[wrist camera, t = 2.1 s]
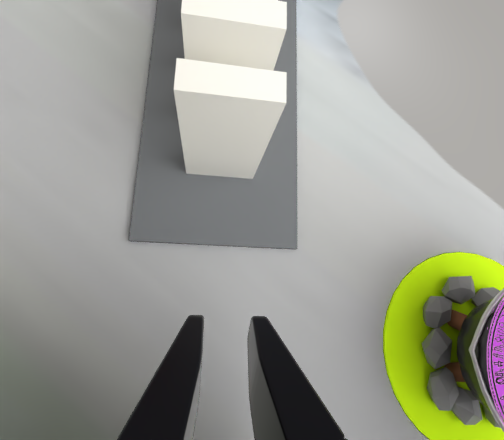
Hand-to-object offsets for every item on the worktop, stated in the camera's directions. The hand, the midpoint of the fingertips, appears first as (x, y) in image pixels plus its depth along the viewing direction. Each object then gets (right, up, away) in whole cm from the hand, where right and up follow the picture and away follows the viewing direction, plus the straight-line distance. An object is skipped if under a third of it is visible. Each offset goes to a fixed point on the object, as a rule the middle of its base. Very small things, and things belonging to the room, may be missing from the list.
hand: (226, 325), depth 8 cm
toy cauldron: (+18, -7, +16) cm, 25 cm away
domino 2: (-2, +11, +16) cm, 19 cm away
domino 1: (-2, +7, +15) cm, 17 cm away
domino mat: (-2, +15, +17) cm, 23 cm away
